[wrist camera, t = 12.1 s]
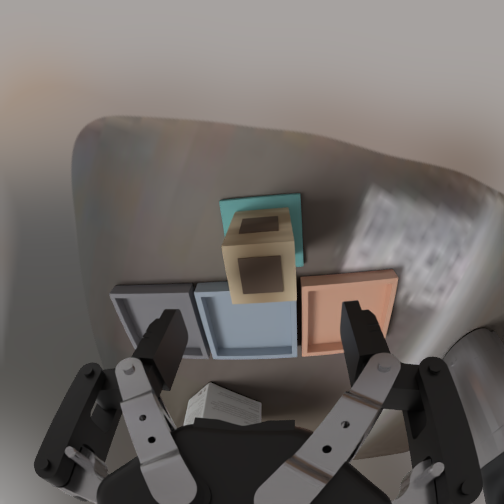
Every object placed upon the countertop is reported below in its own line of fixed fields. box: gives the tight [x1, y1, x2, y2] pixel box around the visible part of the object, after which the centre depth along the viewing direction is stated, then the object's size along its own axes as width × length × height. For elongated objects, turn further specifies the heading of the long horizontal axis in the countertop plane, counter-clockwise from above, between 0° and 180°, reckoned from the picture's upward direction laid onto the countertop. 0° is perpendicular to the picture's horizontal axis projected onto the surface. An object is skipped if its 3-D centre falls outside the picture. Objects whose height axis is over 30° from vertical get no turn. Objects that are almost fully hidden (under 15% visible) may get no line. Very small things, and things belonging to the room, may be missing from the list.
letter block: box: [221, 207, 297, 304], centre depth 19 cm, size 4×4×6 cm
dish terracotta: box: [300, 269, 398, 357], centre depth 24 cm, size 8×8×2 cm
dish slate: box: [194, 281, 297, 359], centre depth 25 cm, size 8×8×2 cm
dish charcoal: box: [109, 283, 211, 359], centre depth 26 cm, size 8×8×2 cm
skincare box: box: [184, 382, 262, 426], centre depth 26 cm, size 8×7×16 cm
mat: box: [219, 193, 303, 267], centre depth 22 cm, size 6×6×1 cm
